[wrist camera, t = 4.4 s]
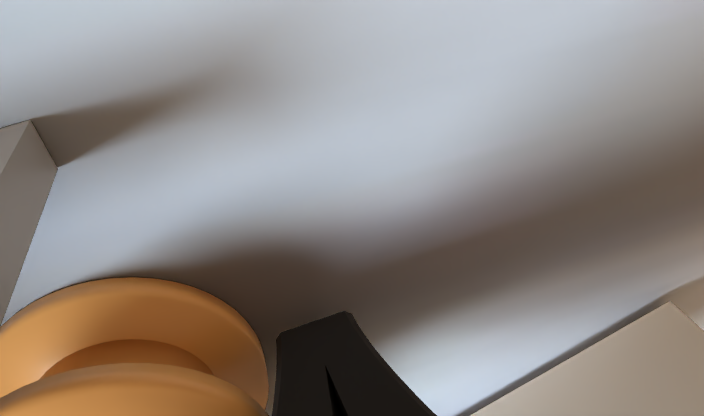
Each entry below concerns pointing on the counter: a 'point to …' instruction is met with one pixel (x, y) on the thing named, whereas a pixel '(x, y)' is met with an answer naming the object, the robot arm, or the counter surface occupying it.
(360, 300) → the counter surface
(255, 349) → the door knob
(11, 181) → the open grey tray
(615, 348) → the cover
